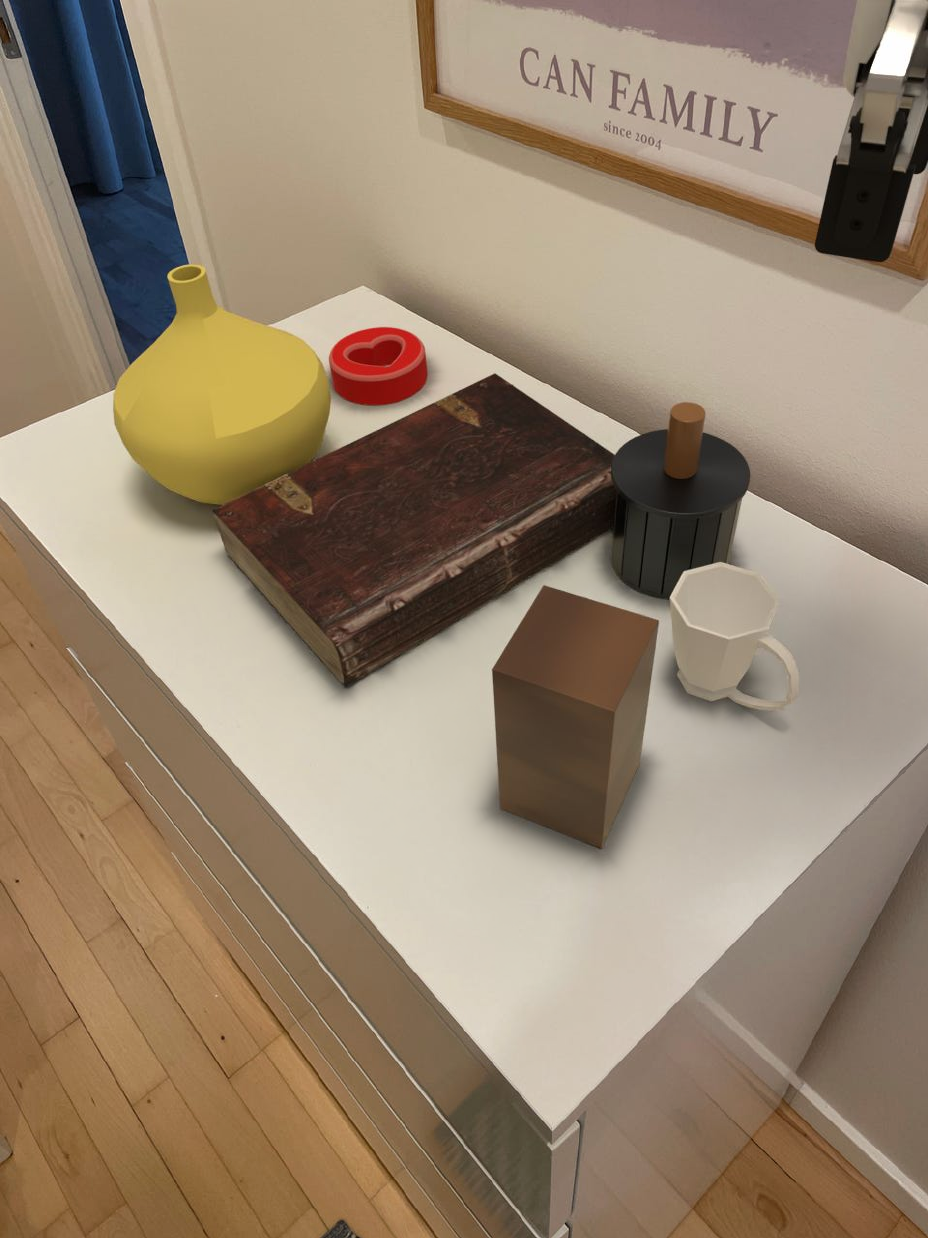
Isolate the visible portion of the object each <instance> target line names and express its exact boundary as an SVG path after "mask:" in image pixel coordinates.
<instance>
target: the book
mask: <svg viewBox="0 0 928 1238" xmlns="http://www.w3.org/2000/svg"><path fill="white" fill-rule="evenodd" d="M615 454H616V453H613V452H612V451H610V450H608V449H607V448H606V447H605V446H604V445H601V444H600V443H599V442H597V441H596V440H594V439H593V438H591V437H590V436H588V434H587V435H586V434H585V433H584V432H582V431H581V430H579V429H578V428H576V427H575V426H574V425H572V424H570V423H569V421H566V420H565V419H563V418H562V417H560V416H559V415H557V414H556V413H555V412H553V411H552V410H550V409H549V408H547V407H546V406H544V405H543V404H541V403H540V402H539V401H537V400H535V399H534V398H533V397H531V396H529V395H528V394H527V393H525V392H524V391H522V390H520V389H519V388H518V387H516V386H515V385H513V384H512V383H510V382H509V381H507V380H506V379H505V378H503V377H502V376H500V375H499V374H498V373H496V372H494V373H493V374H490V375H488V376H486V377H484V378H482V379H480V380H478V381H476V382H474V383H472V384H470V385H467V386H466V387H464V388H461V389H459V390H457V391H455V392H452V393H450V394H449V395H446V396H445V397H443V398H440V399H438V400H436V401H435V402H433V403H430V404H428V405H426V406H424V407H421V408H420V409H418V410H415V411H414V412H411V413H410V414H408V415H405V416H404V417H401V418H399V419H397V420H395V421H393V422H391V423H389V424H387V425H385V426H383V427H380V428H379V429H376V430H375V431H372V432H370V433H368V434H365V435H364V436H362V437H360V438H358V439H355V440H353V441H352V442H350V443H348V444H345V445H343V446H341V447H339V448H337V449H335V450H333V451H331V452H329V453H327V454H325V455H323V456H320V457H318V458H317V459H315V460H311V462H310V463H308V464H306V465H304V466H302V467H300V468H298V469H296V470H294V471H291V472H289V473H287V474H285V475H283V476H281V477H279V478H277V479H275V480H273V481H271V482H269V483H267V484H265V485H262V486H260V487H258V488H256V489H254V490H252V491H250V492H248V493H246V494H244V495H242V496H240V497H238V498H236V499H234V500H231V501H229V502H227V503H225V504H223V505H219V506H216V507H214V508H213V509H212V510H211V511H212V514H213V517H214V520H215V524H216V527H217V530H218V532H219V535H220V538H221V541H222V544H223V547H224V551H225V553H226V554H227V555H228V557H230V558H231V560H232V561H233V562H234V563H235V564H236V565H237V566H238V567H239V569H241V571H242V572H243V573H244V575H246V577H247V578H248V579H249V580H250V581H251V582H252V583H253V585H254V586H256V588H257V589H258V590H259V592H261V594H262V595H263V596H264V597H265V598H266V599H267V601H268V602H269V603H270V604H271V605H272V606H273V607H274V609H275V610H276V611H277V612H278V613H279V614H280V615H281V616H282V617H283V619H284V620H285V621H286V622H287V624H289V626H290V627H292V629H293V630H294V631H295V633H297V634H298V636H299V637H300V638H301V639H302V641H304V643H306V645H307V646H308V647H309V648H310V649H311V650H312V652H313V653H314V654H315V655H316V656H317V657H318V658H319V660H320V661H321V662H322V663H323V664H324V666H326V668H328V669H329V671H330V673H332V674H333V675H334V677H336V679H337V680H338V681H339V682H340V684H342V685H343V687H344V688H347V687H348V686H350V685H352V684H353V683H355V682H357V681H358V680H360V679H362V678H364V677H365V676H368V675H369V674H370V673H372V672H374V671H376V670H377V669H379V668H380V667H382V666H383V665H386V664H387V663H388V662H390V661H392V660H393V659H395V658H397V657H398V656H400V655H402V654H404V653H405V652H407V651H408V650H410V649H411V648H413V647H415V646H417V645H419V644H420V643H422V642H423V641H425V640H427V639H429V638H431V637H432V636H433V635H435V634H437V633H438V632H440V631H442V630H444V629H445V628H447V627H449V626H451V625H452V624H454V623H456V622H457V621H459V620H460V619H463V617H466V616H467V615H468V614H470V613H472V612H474V611H475V610H477V609H479V608H480V607H482V606H483V605H485V604H487V603H489V602H490V601H492V600H493V599H495V598H497V597H498V596H500V595H502V594H504V593H505V592H508V591H509V590H510V589H512V588H514V587H515V586H517V585H518V584H519V585H520V584H521V583H522V582H524V581H526V580H527V579H529V578H531V577H532V576H534V575H536V574H537V573H539V572H540V571H543V570H544V569H545V568H547V567H549V566H550V565H552V564H553V563H554V564H555V562H557V561H559V560H560V559H562V558H564V557H566V556H567V555H569V554H570V553H572V552H574V551H575V550H577V549H578V548H580V547H582V546H584V545H585V544H587V543H589V542H590V541H592V540H594V539H595V538H597V537H599V536H600V535H602V534H604V533H605V532H607V531H609V530H611V529H612V524H613V510H614V497H615V486H614V484H613V481H612V478H611V464H612V461H613V458H614V456H615Z"/></svg>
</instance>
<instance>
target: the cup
mask: <svg viewBox="0 0 928 1238" xmlns="http://www.w3.org/2000/svg"><path fill="white" fill-rule="evenodd" d="M780 603H781V600H780V598H779V597H778V596H777V595H776V593H775V592H774V590H773V589H772V588H771V587H770V585H769V584H768V582H767V581H766V580H765V579H764V577H763V576H762V574H761V573H759V572H755V571H752V570H749V569H746V568H743V567H739V566H736V565H732V564H730V563H729V564H726V563H723V562H718V563H714V564H710V565H706V566H703V567H699V568H695V569H691V570H687V571H684V572H683V574H682V576H681V577H680V579H679V581H678V583H677V585H676V587H675V589H674V590H673V592H672V594H671V596H670V599H669V608H670V618H671V635H672V647H673V651H674V656H675V659H676V664H677V666H678V671H677V673H676V674H677V675H676V677H677V678H678V680H679V682H680V683H681V685H682V686H683V688H684V690H685V691H686V693H687V694H688V695H691V696H694V697H697V698H700V699H703V700H705V701H708V702H715V701H717V700H718V701H719V700H721V699H725V698H728V699H730V700H732V701H733V702H734V703H736V704H738V705H742V706H744V707H747V708H750V709H754V710H755V709H756V710H762V711H770V712H776V711H783V710H785V709H786V708H787V707H788V706H789V705H790V704H792V702H793V701H795V699H797V697H798V695H799V689H800V670H799V668H798V665H797V662H796V660H795V658H794V657H793V654H792V653H791V652H790V651H789V650H788V649H787V648H786V647H785V645H783V644H782V643H780V642H779V641H778V640H777V639H775V638H774V636H771V635H769V634H767V632H768V631H769V628H770V626H771V624H772V621H773V619H774V617H775V614H776V612H777V610H778V607H779V605H780ZM759 649H762V650H764V651H766V652H767V653H769V654H771V655H773V656H775V657H776V659H778V661H779V662H780V664H781V665H782V668H783V670H784V673H785V675H786V677H787V693H786V699H784V700H773V699H764V698H758V697H755V696H751V695H748V694H746V693H743V692H742V691H740V690H738V689H737V687H738V684H739V683H740V682H741V681H742V679H743V677H745V675H746V673H747V672H748V671H749V669H750V667H751V664H752V663H753V660H754V658H755V656H756V655H757V652H758V650H759Z"/></svg>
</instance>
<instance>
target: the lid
mask: <svg viewBox="0 0 928 1238" xmlns="http://www.w3.org/2000/svg"><path fill="white" fill-rule="evenodd" d="M668 418H669V419H668V428H664V429H657V430H652V431H648V432H645V433H642V434H639V435H637V436H634V437H633V438H631V439H629V440H628V441H626V442H625V443H623V445H621V446H620V447H619V448H618V449H617V451H616V452H615V453H614V454H615V456H614V458H613V461H612V464H611V478H612V481H613V484H614V486H615V488H616V490H617V491H618V492H619V494H620V495H621V496H622V497H623V498H624V499H625V500H627V501H628V502H629V503H631V504H632V505H634V506H635V507H637V508H639V509H641V510H643V511H646V512H648V513H651V514H654V515H658V516H662V517H667V518H675V519H696V518H704V517H708V516H713V515H716V514H719V513H721V512H724V511H726V510H728V509H729V508H731V507H733V506H734V505H735V504H737V503H738V502H739V501H740V500H741V499H742V500H743V498H744V497H745V495H746V493H747V492H748V490H749V486H750V483H751V469H750V466H749V463H748V461H747V459H746V458H745V455H743V453H742V452H740V451H739V449H737V447H736V446H734V445H732V444H731V443H729V442H728V441H726V440H725V439H722V438H720V437H718V436H715V435H713V434H711V433H707V432H704V427H705V421H706V410H705V408H704V407H703V406H702V405H700V404H698V403H695V402H689V401H685V402H678V403H676V404H674V405H673V406H672V407H671V409H670V411H669V417H668Z"/></svg>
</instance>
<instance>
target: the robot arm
mask: <svg viewBox="0 0 928 1238" xmlns="http://www.w3.org/2000/svg"><path fill="white" fill-rule="evenodd" d="M842 85H843V86H844V88H845V90H846V91H847V92H848V94H849V95H850V96H852V97H853V101H852V103H851V107H850V110H849V115H848V116H847V117H848V118H847V119H846V120H847V121H846V125H845V127H844V131H843V134H842V137H841V140H840V142H839V143H840V144H839V147H838V151H837V154H836V155H835V156H834V158H833V160H832V163H831V168H830V172H829V176H828V182H827V186H826V190H825V195H824V200H823V205H822V209H821V212H820V213H821V214H820V218H819V223H818V227H817V232H816V237H815V242H814V248H815V250H816V252H818V253H819V254H822V255H823V254H824V255H829V256H835V257H842V258H849V259H855V260H861V261H867V262H873V263H883V262H886V261H887V260H888V259H889V258H890V255H891V254H892V251H893V249H894V245H895V241H896V237H897V234H898V230H899V227H900V224H901V221H902V217H903V214H904V209H905V205H906V202H907V200H908V199H907V198H908V195H909V191H910V188H911V185H912V182H913V178H914V175H920V174H922V173H924V171H925V170H926V168H927V166H928V0H856V3H855V8H854V14H853V18H852V24H851V30H850V36H849V40H848V45H847V51H846V58H845V64H844V70H843V77H842Z"/></svg>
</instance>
